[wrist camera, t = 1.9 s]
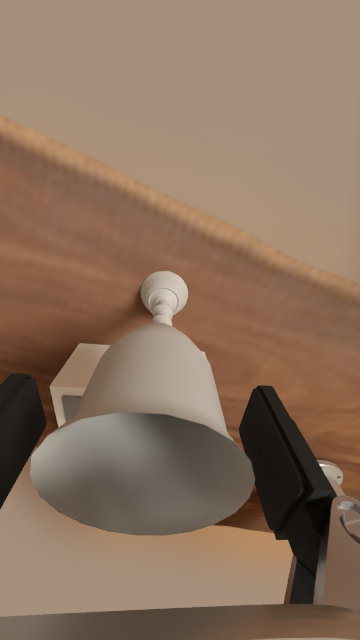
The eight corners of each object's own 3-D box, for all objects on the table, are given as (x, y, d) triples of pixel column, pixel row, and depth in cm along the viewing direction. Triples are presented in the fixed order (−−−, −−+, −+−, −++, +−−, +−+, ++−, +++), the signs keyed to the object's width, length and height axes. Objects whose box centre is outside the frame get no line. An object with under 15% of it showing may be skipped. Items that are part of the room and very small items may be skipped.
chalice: (116, 290, 23) (-17, 485, 7) (164, 245, 21) (139, 364, 5) (164, 334, 25) (152, 550, 9) (210, 298, 23) (294, 490, 7)
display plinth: (189, 431, 33) (193, 484, 27) (89, 427, 32) (68, 482, 26) (204, 351, 27) (215, 397, 20) (79, 343, 25) (47, 388, 19)
